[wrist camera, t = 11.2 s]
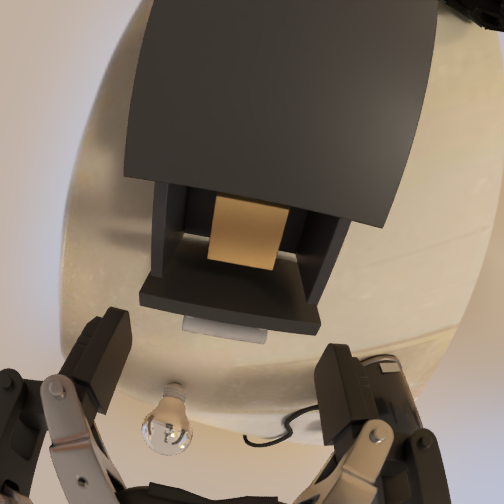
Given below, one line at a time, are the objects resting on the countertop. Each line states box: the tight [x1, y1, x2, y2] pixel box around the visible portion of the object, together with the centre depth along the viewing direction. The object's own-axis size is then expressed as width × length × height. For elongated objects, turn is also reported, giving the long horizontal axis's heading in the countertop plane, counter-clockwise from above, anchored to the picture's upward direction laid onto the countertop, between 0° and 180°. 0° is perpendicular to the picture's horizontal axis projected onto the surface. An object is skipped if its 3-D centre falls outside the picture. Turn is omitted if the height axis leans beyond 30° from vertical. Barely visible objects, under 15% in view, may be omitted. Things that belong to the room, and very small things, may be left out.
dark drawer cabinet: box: [124, 0, 439, 228], centre depth 14 cm, size 16×14×10 cm
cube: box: [207, 192, 289, 270], centre depth 20 cm, size 4×4×4 cm
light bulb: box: [142, 383, 192, 456], centre depth 32 cm, size 7×7×12 cm
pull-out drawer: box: [139, 181, 351, 344], centre depth 19 cm, size 19×13×8 cm, turn 168°
